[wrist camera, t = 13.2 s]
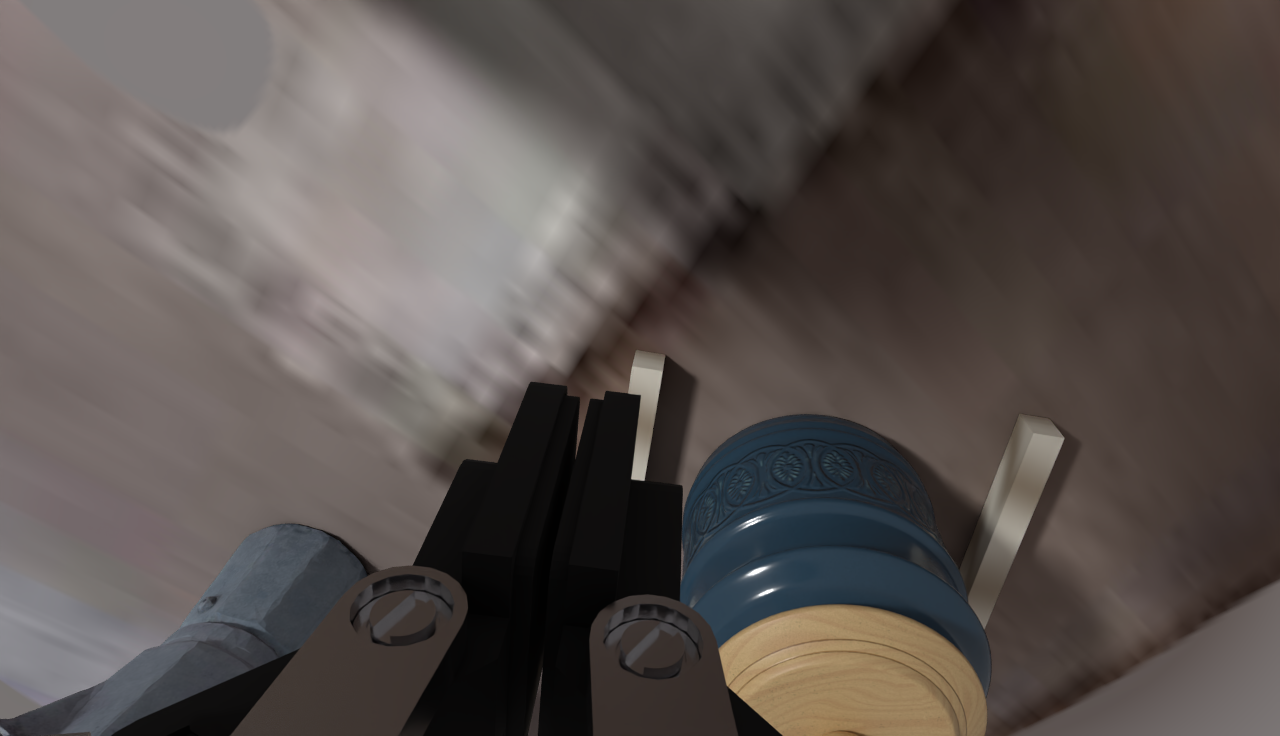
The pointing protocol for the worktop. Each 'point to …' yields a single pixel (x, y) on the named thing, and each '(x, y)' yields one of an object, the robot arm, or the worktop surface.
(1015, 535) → the bay frame
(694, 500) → the canister
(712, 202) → the worktop surface
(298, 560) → the moka pot
